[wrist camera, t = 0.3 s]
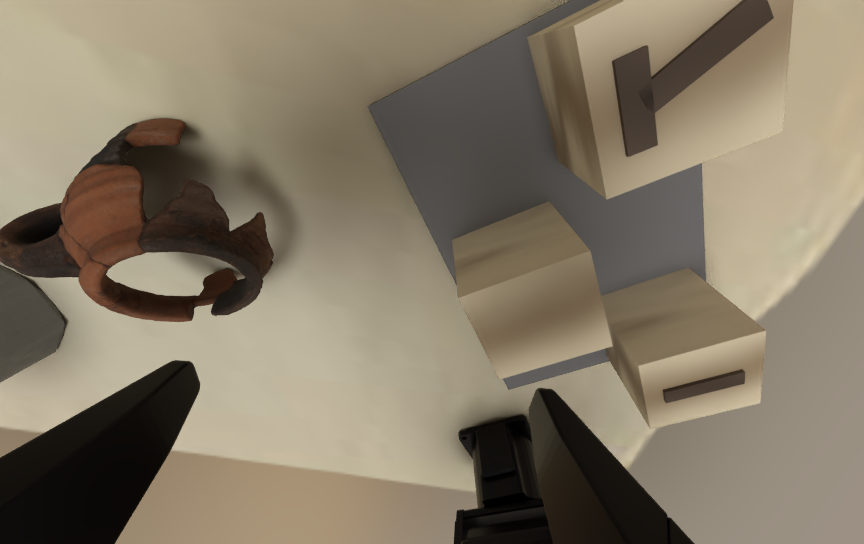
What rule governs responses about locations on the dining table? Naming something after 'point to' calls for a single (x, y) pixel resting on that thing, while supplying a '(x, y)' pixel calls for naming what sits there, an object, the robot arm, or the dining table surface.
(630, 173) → the numbered block seven
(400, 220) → the dining table surface
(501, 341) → the plain block
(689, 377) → the numbered block one
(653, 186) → the charcoal mat
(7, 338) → the coffeepot
